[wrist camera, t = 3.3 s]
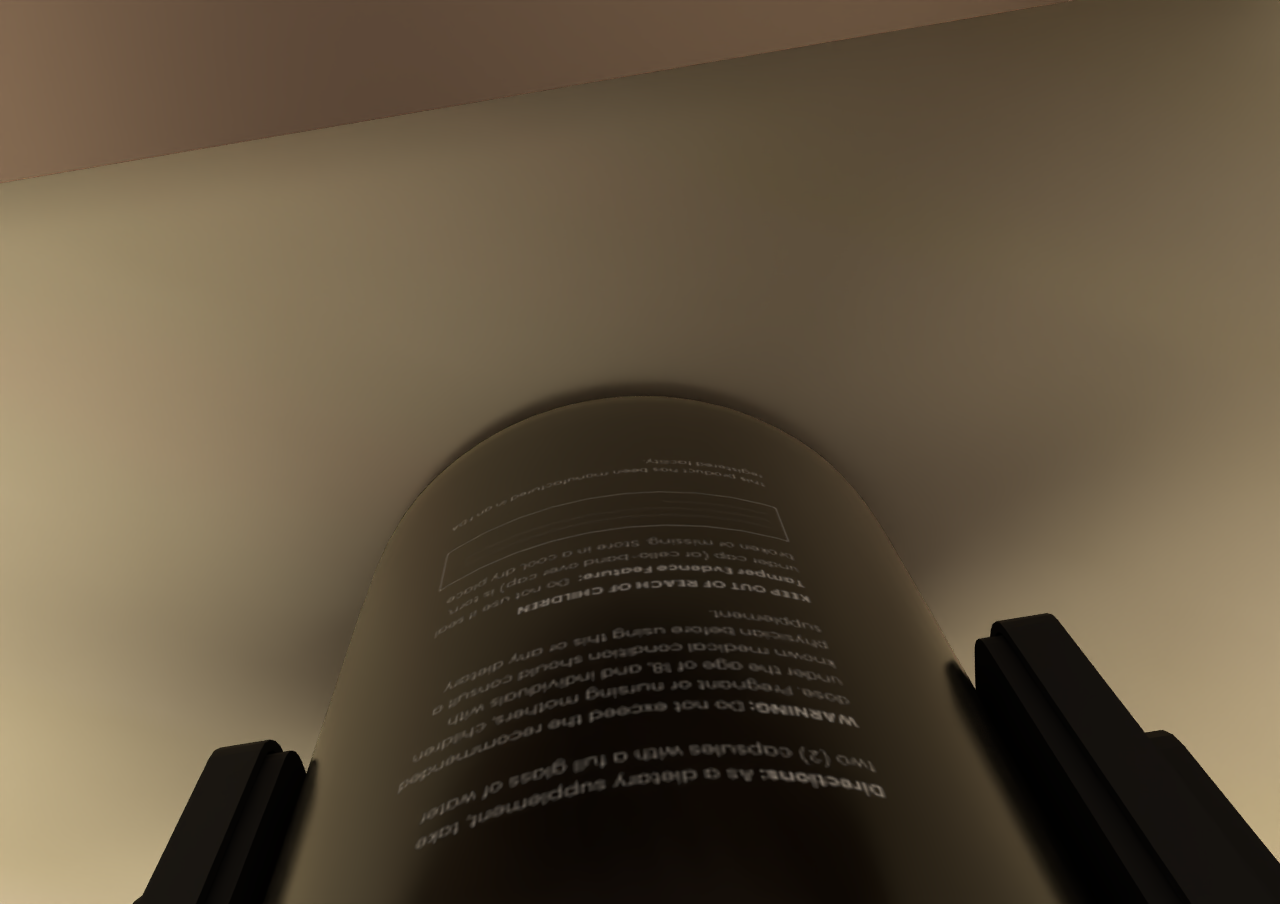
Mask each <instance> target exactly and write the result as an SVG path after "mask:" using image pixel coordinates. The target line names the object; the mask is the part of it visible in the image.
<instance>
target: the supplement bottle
mask: <svg viewBox="0 0 1280 904" xmlns="http://www.w3.org/2000/svg"><path fill="white" fill-rule="evenodd" d="M264 904H1099V903H1098V902H1097V900H1096V898H1095V896H1094V895H1093V893H1092V891H1091V889H1090V888H1089V886H1088V884H1087V882H1086V881H1085V879H1084V877H1083V875H1082V874H1081V872H1080V870H1079V869H1078V867H1077V865H1076V863H1075V862H1074V860H1073V858H1072V856H1071V855H1070V853H1069V851H1068V849H1067V848H1066V846H1065V844H1064V842H1063V841H1062V839H1061V837H1060V836H1059V834H1058V832H1057V830H1056V829H1055V827H1054V825H1053V823H1052V822H1051V820H1050V818H1049V816H1048V815H1047V813H1046V811H1045V809H1044V808H1043V806H1042V804H1041V802H1040V801H1039V799H1038V797H1037V796H1036V794H1035V792H1034V790H1033V789H1032V787H1031V785H1030V783H1029V782H1028V780H1027V778H1026V776H1025V775H1024V773H1023V771H1022V769H1021V768H1020V766H1019V764H1018V763H1017V761H1016V759H1015V757H1014V756H1013V754H1012V752H1011V750H1010V749H1009V747H1008V745H1007V743H1006V742H1005V740H1004V738H1003V736H1002V735H1001V733H1000V731H999V730H998V728H997V726H996V724H995V723H994V721H993V719H992V717H991V716H990V714H989V712H988V710H987V709H986V707H985V705H984V703H983V702H982V700H981V698H980V697H979V695H978V693H977V691H976V690H975V688H974V686H973V684H972V683H971V681H970V679H969V677H968V676H967V674H966V672H965V670H964V669H963V667H962V665H961V664H960V662H959V660H958V658H957V657H956V655H955V653H954V651H953V650H952V648H951V646H950V644H949V643H948V641H947V639H946V637H945V636H944V634H943V632H942V631H941V629H940V627H939V625H938V624H937V622H936V620H935V618H934V617H933V615H932V613H931V611H930V610H929V608H928V606H927V604H926V603H925V601H924V599H923V598H922V596H921V594H920V592H919V591H918V589H917V587H916V585H915V584H914V582H913V580H912V578H911V577H910V575H909V573H908V571H907V570H906V568H905V566H904V565H903V563H902V561H901V559H900V558H899V556H898V554H897V552H896V551H895V549H894V547H893V546H892V544H891V542H890V540H889V539H888V537H887V535H886V534H885V532H884V530H883V529H882V527H881V526H880V524H879V522H878V521H877V519H876V518H875V516H874V515H873V513H872V512H871V510H870V509H869V508H868V506H867V505H866V503H865V502H864V501H863V499H862V498H861V497H860V495H859V494H858V493H857V492H856V491H855V489H854V488H853V487H852V486H851V485H850V484H849V483H848V482H847V480H846V479H845V478H844V477H843V476H842V475H841V474H840V473H839V472H838V471H837V470H836V469H835V468H834V467H833V466H832V465H831V464H829V463H828V462H827V461H826V460H825V459H824V458H823V457H822V456H821V455H819V454H818V453H816V452H815V451H814V450H812V449H811V448H809V447H808V446H807V445H805V444H804V443H803V442H801V441H800V440H798V439H796V438H794V437H793V436H791V435H789V434H787V433H786V432H784V431H782V430H781V429H779V428H777V427H775V426H773V425H770V424H768V423H766V422H764V421H761V420H759V419H757V418H755V417H752V416H750V415H748V414H745V413H742V412H739V411H736V410H733V409H730V408H727V407H724V406H719V405H715V404H711V403H706V402H702V401H698V400H690V399H683V398H675V397H664V396H624V397H610V398H603V399H596V400H589V401H583V402H579V403H575V404H571V405H567V406H562V407H558V408H555V409H552V410H549V411H546V412H543V413H540V414H537V415H534V416H532V417H529V418H527V419H525V420H522V421H520V422H518V423H516V424H514V425H511V426H509V427H507V428H505V429H503V430H501V431H500V432H498V433H496V434H494V435H493V436H491V437H489V438H487V439H485V440H484V441H482V442H481V443H479V444H478V445H476V446H475V447H473V448H472V449H471V450H469V451H468V452H466V453H465V454H464V455H462V456H461V457H459V458H458V459H457V460H455V461H454V462H453V463H452V464H451V465H450V466H449V467H447V468H446V469H445V470H444V471H443V472H442V473H440V474H439V475H438V476H437V477H436V478H435V479H434V480H433V481H432V482H431V483H430V484H429V485H428V487H427V488H426V489H425V490H424V491H423V492H422V493H421V494H420V495H419V496H418V498H417V499H416V500H415V502H414V503H413V504H412V506H411V507H410V508H409V509H408V511H407V512H406V513H405V515H404V516H403V518H402V520H401V521H400V523H399V525H398V526H397V528H396V530H395V531H394V533H393V535H392V536H391V538H390V540H389V542H388V544H387V546H386V548H385V550H384V552H383V555H382V557H381V559H380V561H379V563H378V566H377V568H376V570H375V573H374V576H373V579H372V581H371V584H370V587H369V590H368V593H367V596H366V599H365V601H364V604H363V606H362V608H361V611H360V614H359V617H358V620H357V623H356V626H355V629H354V632H353V635H352V638H351V641H350V644H349V647H348V650H347V653H346V656H345V659H344V662H343V665H342V668H341V671H340V674H339V677H338V680H337V683H336V686H335V689H334V692H333V695H332V698H331V701H330V704H329V707H328V710H327V713H326V716H325V719H324V723H323V726H322V729H321V732H320V735H319V738H318V741H317V744H316V747H315V750H314V753H313V756H312V759H311V762H310V765H309V768H308V771H307V774H306V777H305V780H304V783H303V786H302V789H301V792H300V795H299V798H298V801H297V804H296V807H295V810H294V813H293V816H292V819H291V822H290V825H289V828H288V831H287V834H286V837H285V840H284V843H283V846H282V849H281V852H280V855H279V858H278V861H277V864H276V867H275V870H274V873H273V876H272V879H271V883H270V886H269V889H268V892H267V895H266V898H265V901H264Z"/></svg>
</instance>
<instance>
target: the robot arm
mask: <svg viewBox="0 0 1280 904" xmlns="http://www.w3.org/2000/svg"><path fill="white" fill-rule="evenodd" d="M975 684H976V691H977V693H978V695H979V697H980V698H981V700H982V702H983V703H984V705H985V707H986V709H987V710H988V712H989V714H990V716H991V717H992V719H993V721H994V723H995V724H996V726H997V728H998V730H999V731H1000V733H1001V735H1002V736H1003V738H1004V740H1005V742H1006V743H1007V745H1008V747H1009V749H1010V750H1011V752H1012V754H1013V756H1014V757H1015V759H1016V761H1017V763H1018V764H1019V766H1020V768H1021V769H1022V771H1023V773H1024V775H1025V776H1026V778H1027V780H1028V782H1029V783H1030V785H1031V787H1032V789H1033V790H1034V792H1035V794H1036V796H1037V797H1038V799H1039V801H1040V802H1041V804H1042V806H1043V808H1044V809H1045V811H1046V813H1047V815H1048V816H1049V818H1050V820H1051V822H1052V823H1053V825H1054V827H1055V829H1056V830H1057V832H1058V834H1059V836H1060V837H1061V839H1062V841H1063V842H1064V844H1065V846H1066V848H1067V849H1068V851H1069V853H1070V855H1071V856H1072V858H1073V860H1074V862H1075V863H1076V865H1077V867H1078V869H1079V870H1080V872H1081V874H1082V875H1083V877H1084V879H1085V881H1086V882H1087V884H1088V886H1089V888H1090V889H1091V891H1092V893H1093V895H1094V896H1095V898H1096V900H1097V902H1098V903H1099V904H1280V863H1279V862H1278V861H1277V860H1276V858H1275V857H1274V856H1273V855H1272V853H1271V852H1270V851H1269V850H1268V849H1267V847H1266V846H1265V845H1264V844H1263V842H1262V841H1261V840H1260V839H1259V837H1258V836H1257V835H1256V834H1255V832H1254V831H1253V830H1252V829H1251V828H1250V826H1249V825H1248V824H1247V823H1246V821H1245V820H1244V819H1243V818H1242V816H1241V815H1240V814H1239V813H1238V812H1237V810H1236V809H1235V808H1234V807H1233V805H1232V804H1231V803H1230V802H1229V800H1228V799H1227V798H1226V797H1225V796H1224V794H1223V793H1222V792H1221V791H1220V789H1219V788H1218V787H1217V786H1216V784H1215V783H1214V782H1213V781H1212V779H1211V778H1210V777H1209V776H1208V775H1207V773H1206V772H1205V771H1204V770H1203V768H1202V767H1201V766H1200V765H1199V763H1198V762H1197V761H1196V760H1195V759H1194V757H1193V756H1192V755H1191V754H1190V752H1189V751H1188V750H1187V749H1186V747H1185V746H1184V745H1183V744H1182V743H1181V742H1180V741H1179V740H1178V739H1177V738H1176V737H1175V736H1174V735H1173V734H1171V733H1168V732H1166V731H1164V730H1158V731H1152V732H1146V733H1145V732H1144V731H1143V730H1142V728H1141V727H1140V726H1139V724H1138V723H1137V722H1136V721H1135V719H1134V718H1133V717H1132V715H1131V714H1130V713H1129V712H1128V710H1127V709H1126V708H1125V706H1124V705H1123V704H1122V702H1121V701H1120V700H1119V699H1118V697H1117V696H1116V695H1115V693H1114V692H1113V691H1112V690H1111V688H1110V687H1109V686H1108V684H1107V683H1106V682H1105V680H1104V679H1103V678H1102V677H1101V675H1100V674H1099V673H1098V671H1097V670H1096V669H1095V668H1094V666H1093V665H1092V664H1091V662H1090V661H1089V660H1088V658H1087V657H1086V656H1085V655H1084V653H1083V652H1082V651H1081V649H1080V648H1079V647H1078V646H1077V644H1076V643H1075V642H1074V640H1073V639H1072V638H1071V636H1070V635H1069V634H1068V633H1067V631H1066V630H1065V629H1064V627H1063V626H1062V625H1061V623H1060V622H1059V621H1058V620H1057V619H1056V618H1055V617H1054V616H1053V615H1052V614H1049V613H1045V614H1039V615H1033V616H1026V617H1020V618H1014V619H1008V620H1002V621H996V622H995V623H993V624H992V628H991V633H990V637H987V638H981V639H978V640H976V643H975ZM305 777H306V772H305V769H304V766H303V764H302V761H301V759H300V757H299V755H298V754H297V753H296V752H295V751H286V752H283V750H282V748H281V746H280V745H279V744H278V743H277V742H276V741H274V740H265V741H259V742H253V743H247V744H240V745H234V746H228V747H222V748H219V749H217V750H215V751H214V752H213V753H212V755H211V756H210V758H209V760H208V762H207V764H206V766H205V768H204V770H203V772H202V774H201V776H200V778H199V780H198V782H197V784H196V786H195V788H194V791H193V793H192V795H191V797H190V799H189V801H188V803H187V805H186V807H185V809H184V811H183V813H182V815H181V817H180V819H179V821H178V823H177V825H176V828H175V830H174V832H173V834H172V836H171V838H170V840H169V842H168V844H167V846H166V848H165V850H164V852H163V854H162V856H161V858H160V860H159V863H158V865H157V867H156V869H155V871H154V873H153V875H152V877H151V879H150V881H149V883H148V885H147V887H146V889H145V891H144V893H143V895H142V896H141V897H140V898H138V899H137V900H136V901H134V903H133V904H264V901H265V898H266V895H267V892H268V889H269V886H270V883H271V879H272V876H273V873H274V870H275V867H276V864H277V861H278V858H279V855H280V852H281V849H282V846H283V843H284V840H285V837H286V834H287V831H288V828H289V825H290V822H291V819H292V816H293V813H294V810H295V807H296V804H297V801H298V798H299V795H300V792H301V789H302V786H303V783H304V780H305Z"/></svg>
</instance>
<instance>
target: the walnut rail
mask: <svg viewBox="0 0 1280 904" xmlns="http://www.w3.org/2000/svg"><path fill="white" fill-rule="evenodd" d="M1068 1H1074V0H0V183H4V182H9V181H15V180H21V179H27V178H33V177H39V176H45V175H51V174H56V173H62V172H68V171H74V170H80V169H86V168H92V167H98V166H104V165H109V164H115V163H121V162H127V161H133V160H139V159H145V158H151V157H156V156H162V155H168V154H174V153H180V152H186V151H192V150H198V149H203V148H209V147H215V146H221V145H227V144H233V143H239V142H245V141H250V140H256V139H262V138H268V137H274V136H280V135H286V134H292V133H298V132H303V131H309V130H315V129H321V128H327V127H333V126H339V125H345V124H350V123H356V122H362V121H368V120H374V119H380V118H386V117H392V116H397V115H403V114H409V113H415V112H421V111H427V110H433V109H439V108H445V107H450V106H456V105H462V104H468V103H474V102H480V101H486V100H492V99H497V98H503V97H509V96H515V95H521V94H527V93H533V92H539V91H544V90H550V89H556V88H562V87H568V86H574V85H580V84H586V83H591V82H597V81H603V80H609V79H615V78H621V77H627V76H633V75H639V74H644V73H650V72H656V71H662V70H668V69H674V68H680V67H686V66H691V65H697V64H703V63H709V62H715V61H721V60H727V59H733V58H738V57H744V56H750V55H756V54H762V53H768V52H774V51H780V50H785V49H791V48H797V47H803V46H809V45H815V44H821V43H827V42H833V41H838V40H844V39H850V38H856V37H862V36H868V35H874V34H880V33H885V32H891V31H897V30H903V29H909V28H915V27H921V26H927V25H932V24H938V23H944V22H950V21H956V20H962V19H968V18H974V17H979V16H985V15H991V14H997V13H1003V12H1009V11H1015V10H1021V9H1027V8H1032V7H1038V6H1044V5H1050V4H1056V3H1062V2H1068Z"/></svg>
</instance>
